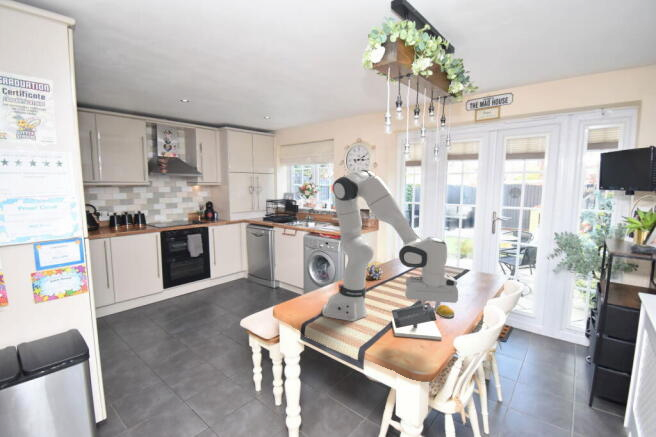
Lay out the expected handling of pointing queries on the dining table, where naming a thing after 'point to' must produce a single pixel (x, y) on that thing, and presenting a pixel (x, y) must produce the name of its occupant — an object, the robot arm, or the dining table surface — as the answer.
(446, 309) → the bread roll
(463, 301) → the dining table surface
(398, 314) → the dark grey rectangular frame
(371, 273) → the passion flower
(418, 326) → the plate
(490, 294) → the dining table surface
